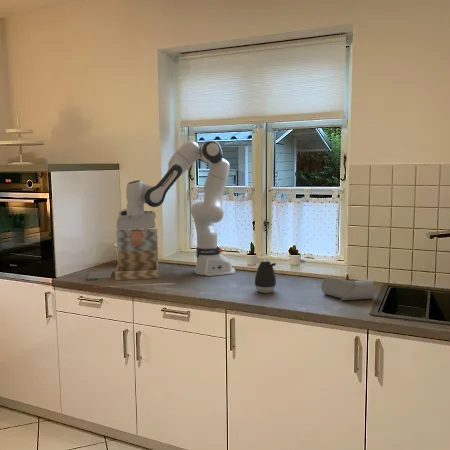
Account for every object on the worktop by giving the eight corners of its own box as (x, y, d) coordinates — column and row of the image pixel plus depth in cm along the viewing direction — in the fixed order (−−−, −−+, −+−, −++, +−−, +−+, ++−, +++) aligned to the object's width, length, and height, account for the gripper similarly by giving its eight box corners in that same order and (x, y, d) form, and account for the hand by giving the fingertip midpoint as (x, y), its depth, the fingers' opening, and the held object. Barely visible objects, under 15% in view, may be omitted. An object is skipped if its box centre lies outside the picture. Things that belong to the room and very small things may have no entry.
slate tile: (112, 273, 261) (112, 271, 261) (110, 279, 248) (110, 277, 248) (90, 274, 260) (90, 272, 260) (86, 280, 246) (86, 278, 246)
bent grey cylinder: (333, 302, 202) (377, 299, 205) (331, 277, 203) (375, 275, 206) (319, 299, 220) (359, 297, 223) (317, 276, 221) (358, 274, 224)
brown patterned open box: (158, 270, 266) (157, 228, 262) (158, 279, 246) (157, 234, 243) (118, 272, 263) (116, 229, 259) (115, 281, 243) (113, 235, 240)
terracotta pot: (143, 243, 256) (142, 228, 255) (143, 245, 249) (142, 230, 248) (131, 244, 255) (130, 229, 254) (130, 246, 249) (130, 231, 247)
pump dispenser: (270, 296, 216) (270, 263, 214) (250, 292, 221) (250, 261, 219) (280, 290, 224) (280, 259, 222) (260, 287, 230) (260, 257, 228)
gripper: (155, 210, 254) (156, 235, 256) (116, 211, 251) (118, 237, 253) (155, 211, 248) (156, 237, 250) (115, 212, 245) (117, 239, 247)
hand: (136, 237), depth 252 cm, fingers closed on terracotta pot, 6 cm apart
